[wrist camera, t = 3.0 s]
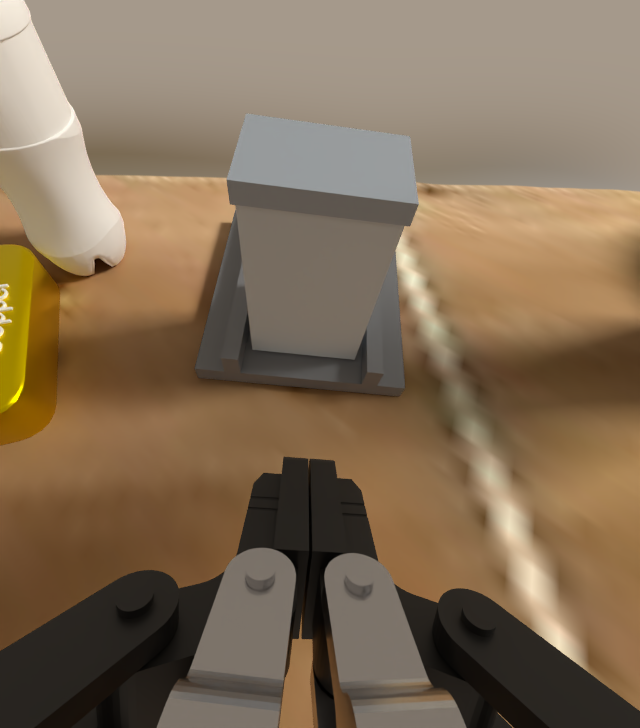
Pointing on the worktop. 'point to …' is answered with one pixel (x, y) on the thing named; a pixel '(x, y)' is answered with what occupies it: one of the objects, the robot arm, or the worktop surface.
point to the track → (240, 363)
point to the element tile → (27, 344)
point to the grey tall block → (317, 229)
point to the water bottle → (49, 156)
